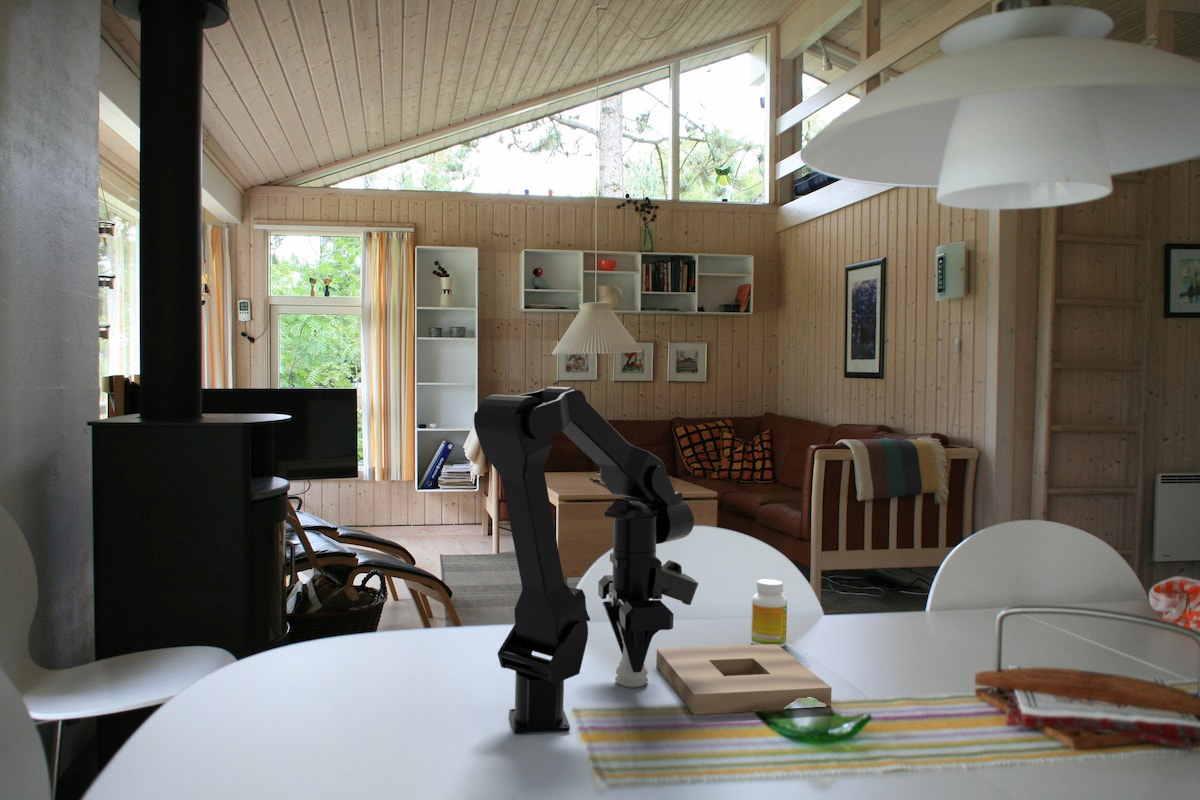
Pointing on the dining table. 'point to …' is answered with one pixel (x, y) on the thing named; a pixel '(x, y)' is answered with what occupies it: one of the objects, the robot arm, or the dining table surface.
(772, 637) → the supplement bottle
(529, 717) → the robot arm
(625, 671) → the rook chess piece
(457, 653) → the dining table surface
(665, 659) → the socket block
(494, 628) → the dining table surface
